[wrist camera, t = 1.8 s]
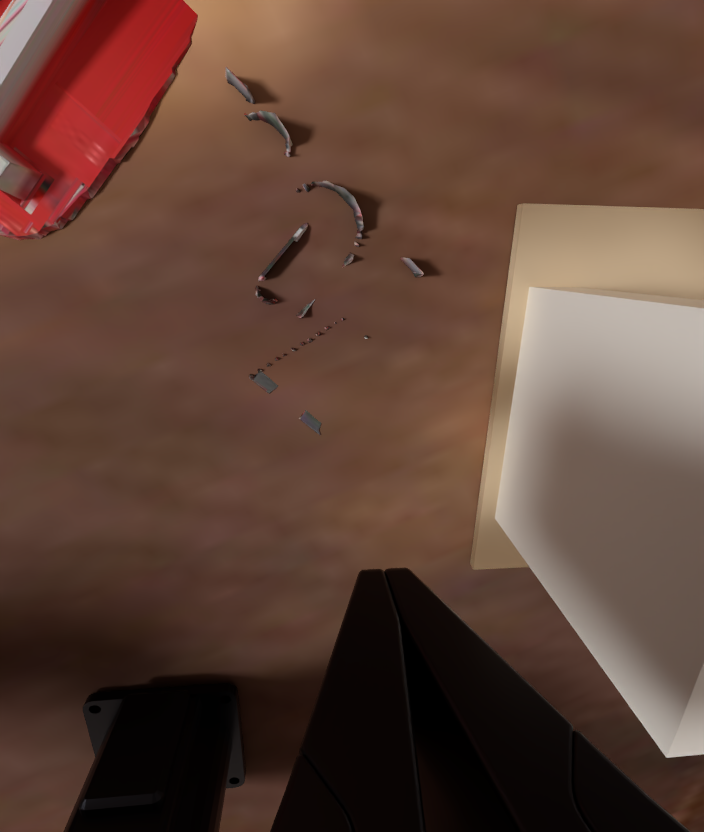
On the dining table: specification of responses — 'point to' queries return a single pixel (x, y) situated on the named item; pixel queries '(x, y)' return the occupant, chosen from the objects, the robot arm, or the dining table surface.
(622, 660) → the tile
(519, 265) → the mat
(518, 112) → the dining table surface
